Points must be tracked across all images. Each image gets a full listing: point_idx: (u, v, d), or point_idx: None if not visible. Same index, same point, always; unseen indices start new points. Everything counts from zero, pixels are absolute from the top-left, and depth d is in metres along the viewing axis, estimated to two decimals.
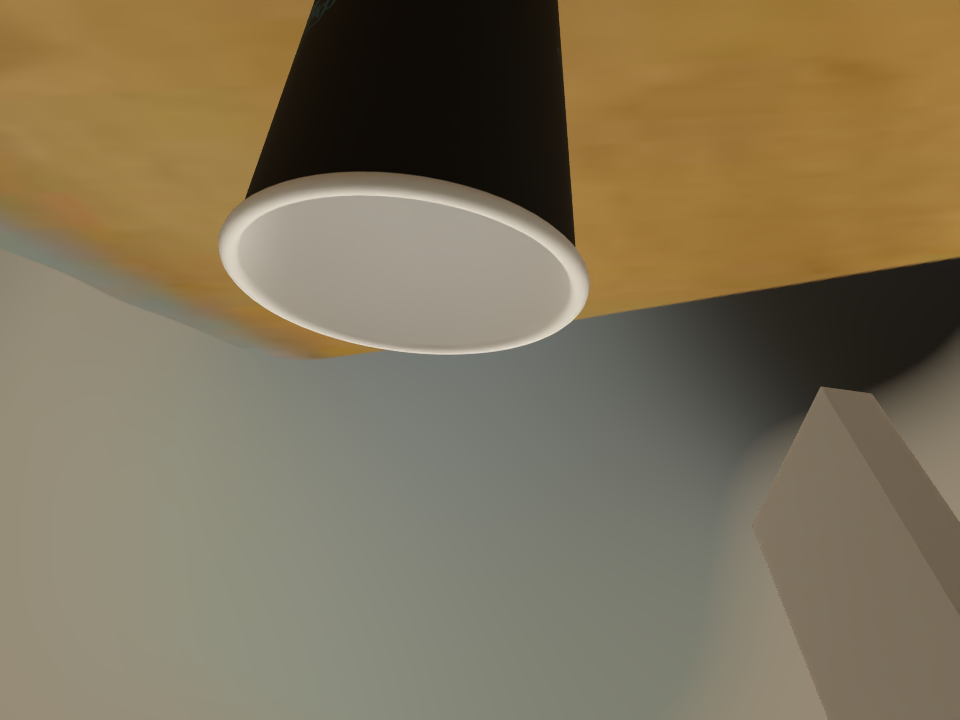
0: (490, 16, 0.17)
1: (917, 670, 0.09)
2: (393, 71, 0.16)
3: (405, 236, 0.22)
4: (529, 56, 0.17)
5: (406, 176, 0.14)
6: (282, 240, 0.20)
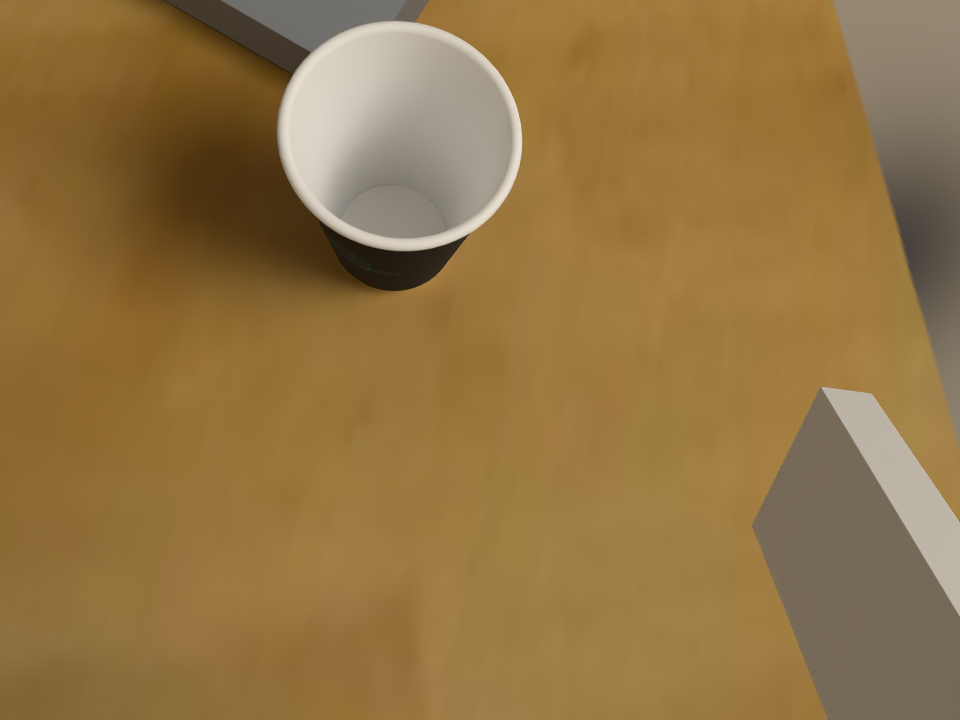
0: None
1: (917, 670, 0.09)
2: None
3: None
4: None
5: None
6: None
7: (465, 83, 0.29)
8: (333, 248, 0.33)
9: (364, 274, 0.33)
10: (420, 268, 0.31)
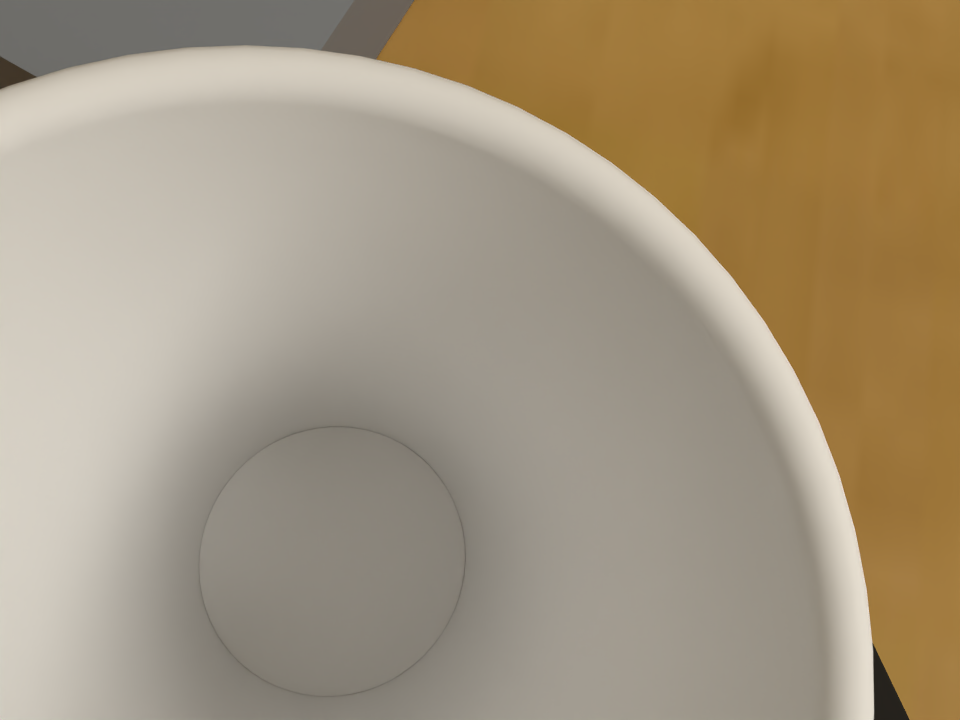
0: None
1: None
2: None
3: None
4: None
5: None
6: None
7: (561, 296, 0.07)
8: None
9: None
10: None
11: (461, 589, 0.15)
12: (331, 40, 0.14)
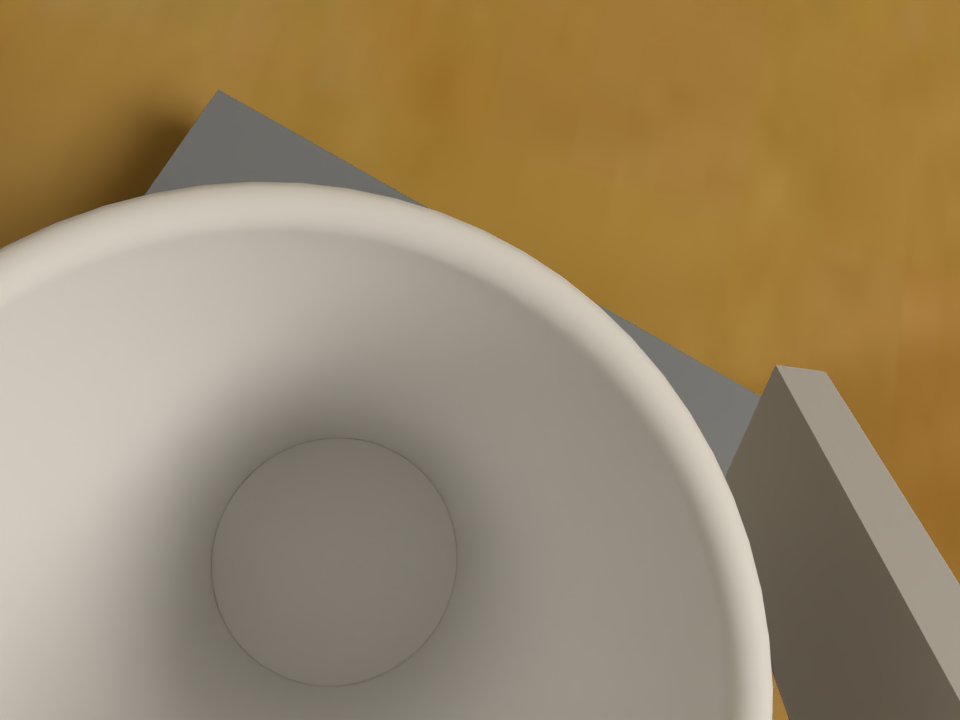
0: None
1: (855, 632, 0.09)
2: None
3: None
4: None
5: None
6: None
7: (527, 372, 0.08)
8: None
9: None
10: None
11: (453, 589, 0.17)
12: None
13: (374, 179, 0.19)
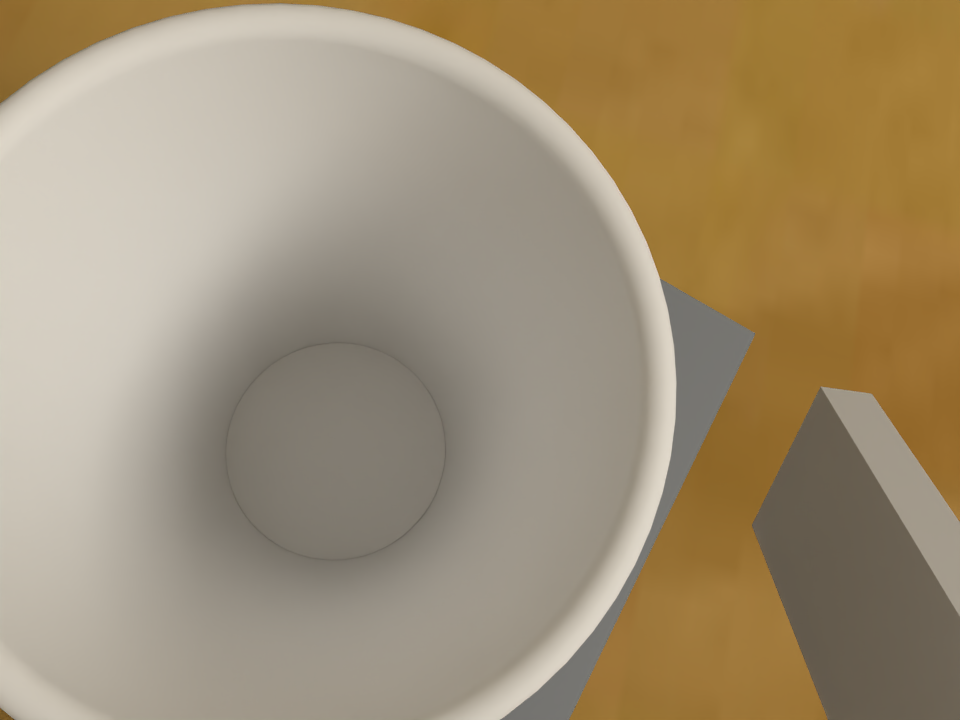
0: None
1: (917, 670, 0.09)
2: None
3: (517, 531, 0.11)
4: None
5: None
6: (285, 697, 0.09)
7: (492, 181, 0.10)
8: None
9: None
10: None
11: (442, 477, 0.18)
12: None
13: None
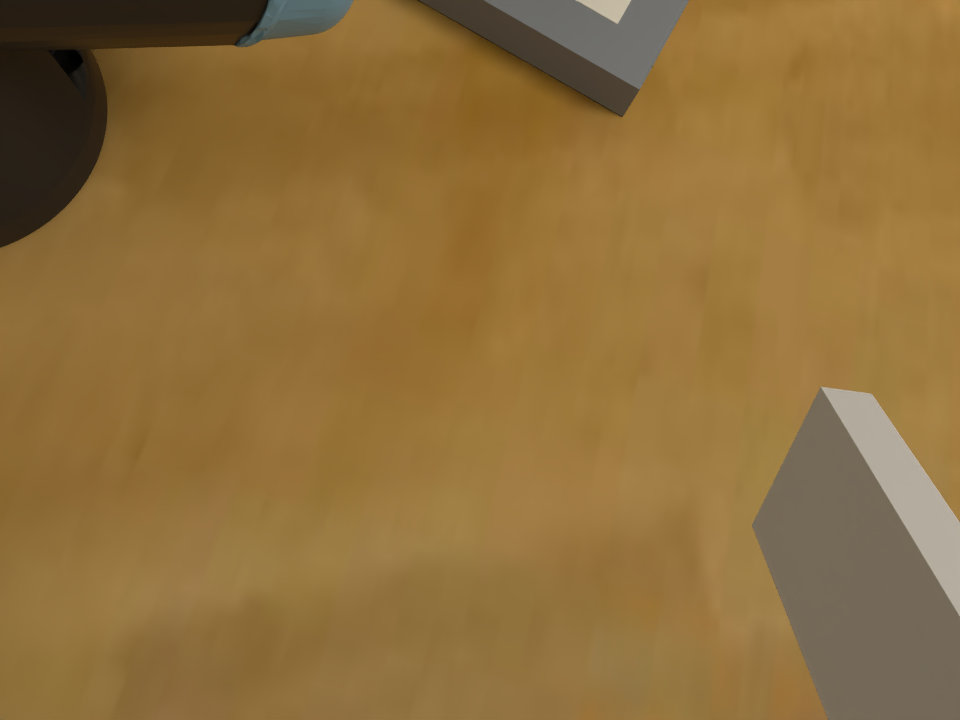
0: None
1: (917, 670, 0.09)
2: None
3: None
4: None
5: None
6: None
7: None
8: None
9: None
10: None
11: None
12: (664, 43, 0.44)
13: None
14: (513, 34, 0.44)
